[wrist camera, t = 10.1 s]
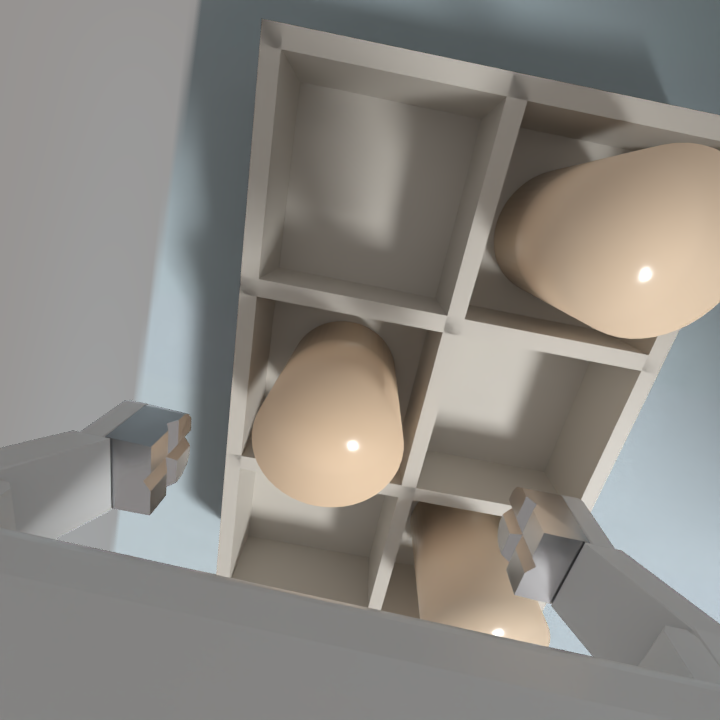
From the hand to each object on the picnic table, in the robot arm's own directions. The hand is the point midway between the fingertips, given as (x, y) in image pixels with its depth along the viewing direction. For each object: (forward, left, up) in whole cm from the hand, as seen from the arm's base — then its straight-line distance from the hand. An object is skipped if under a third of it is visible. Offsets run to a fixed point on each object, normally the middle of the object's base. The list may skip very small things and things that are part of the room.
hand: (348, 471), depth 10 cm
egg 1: (+1, +1, -8) cm, 8 cm away
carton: (-3, +1, -9) cm, 9 cm away
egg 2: (-6, +8, -8) cm, 13 cm away
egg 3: (-6, -6, -8) cm, 12 cm away
